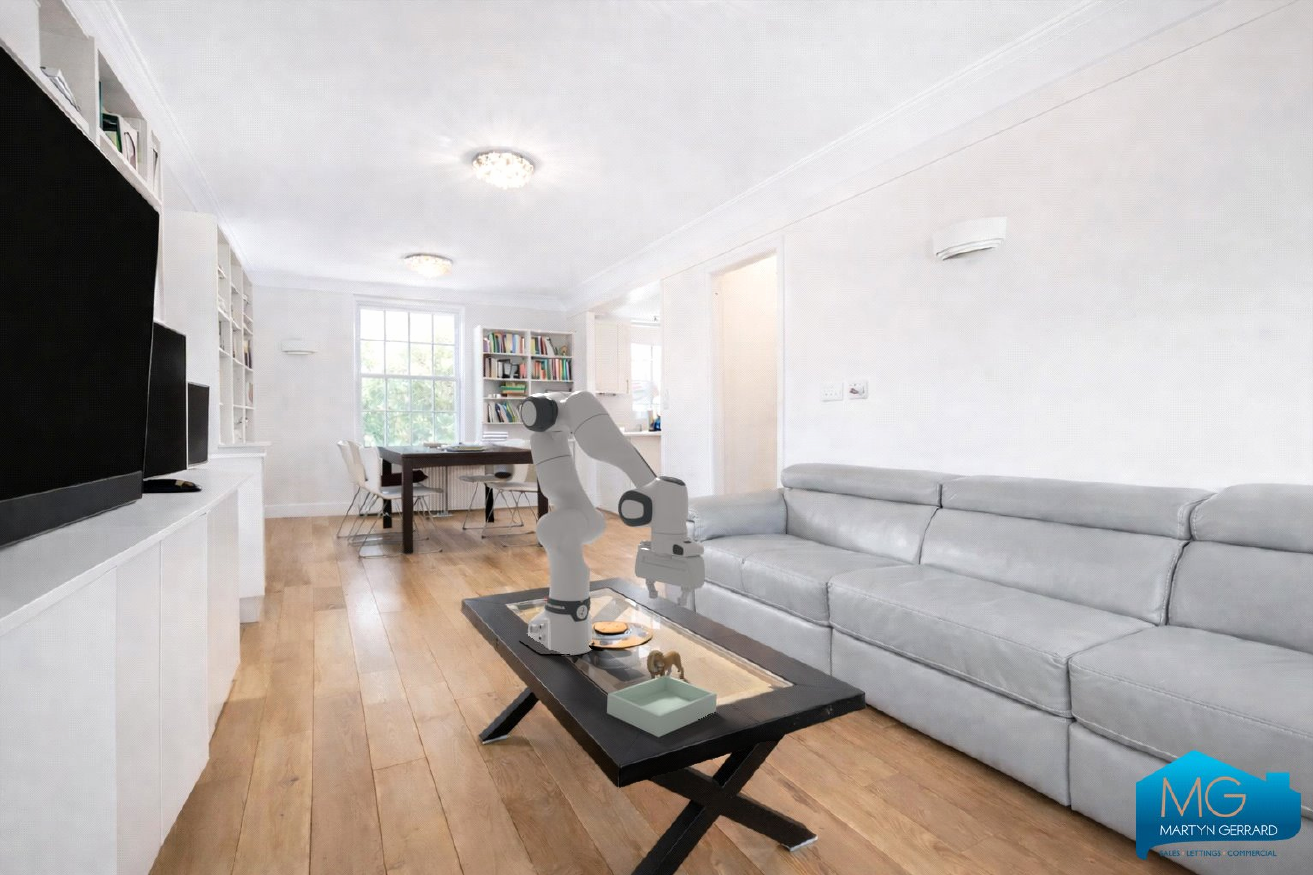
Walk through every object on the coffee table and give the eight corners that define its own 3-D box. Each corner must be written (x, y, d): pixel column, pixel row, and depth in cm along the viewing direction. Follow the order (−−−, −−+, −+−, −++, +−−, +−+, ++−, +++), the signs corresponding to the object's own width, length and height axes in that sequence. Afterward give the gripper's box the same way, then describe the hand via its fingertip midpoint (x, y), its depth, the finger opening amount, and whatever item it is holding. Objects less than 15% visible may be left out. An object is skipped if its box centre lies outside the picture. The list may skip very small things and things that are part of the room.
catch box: (606, 713, 133) (607, 693, 134) (664, 692, 146) (665, 674, 147) (658, 737, 123) (659, 716, 123) (715, 712, 136) (716, 693, 136)
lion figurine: (660, 693, 145) (661, 654, 146) (640, 688, 148) (641, 650, 148) (688, 675, 158) (689, 639, 158) (669, 671, 161) (670, 635, 161)
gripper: (629, 540, 158) (628, 595, 157) (692, 550, 144) (690, 611, 143) (647, 538, 162) (646, 592, 162) (709, 548, 148) (707, 607, 148)
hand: (667, 601), depth 152 cm, fingers open, 8 cm apart
